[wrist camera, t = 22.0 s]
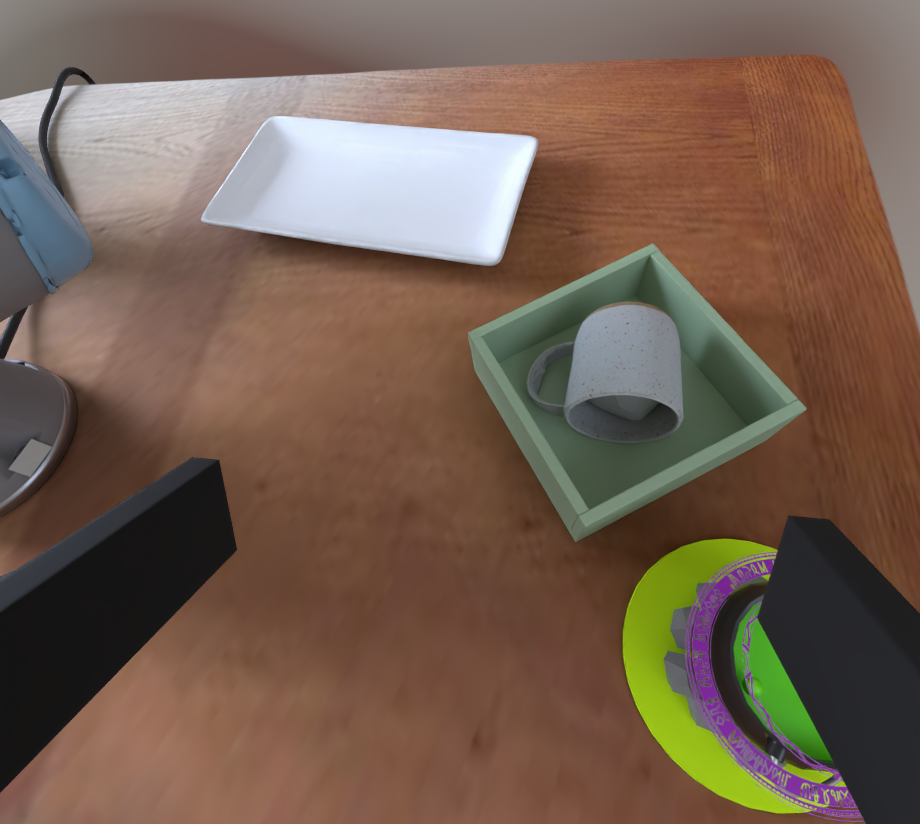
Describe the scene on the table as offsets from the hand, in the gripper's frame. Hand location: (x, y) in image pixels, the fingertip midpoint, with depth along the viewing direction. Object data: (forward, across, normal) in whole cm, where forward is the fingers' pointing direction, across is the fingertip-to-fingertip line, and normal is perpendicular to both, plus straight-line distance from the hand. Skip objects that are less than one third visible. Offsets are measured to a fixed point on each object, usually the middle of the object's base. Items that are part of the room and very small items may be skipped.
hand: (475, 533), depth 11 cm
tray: (+43, -17, +9) cm, 47 cm away
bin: (+28, +7, -6) cm, 29 cm away
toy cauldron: (+15, +15, -18) cm, 29 cm away
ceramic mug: (+27, +6, -6) cm, 28 cm away
